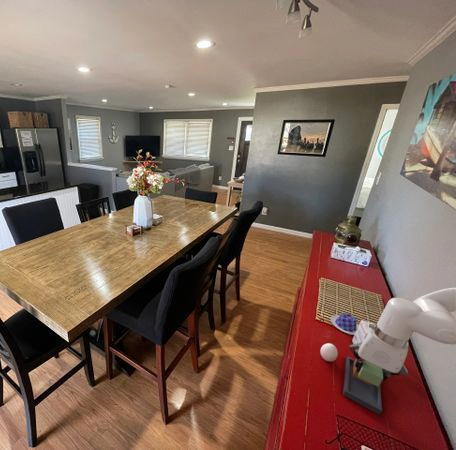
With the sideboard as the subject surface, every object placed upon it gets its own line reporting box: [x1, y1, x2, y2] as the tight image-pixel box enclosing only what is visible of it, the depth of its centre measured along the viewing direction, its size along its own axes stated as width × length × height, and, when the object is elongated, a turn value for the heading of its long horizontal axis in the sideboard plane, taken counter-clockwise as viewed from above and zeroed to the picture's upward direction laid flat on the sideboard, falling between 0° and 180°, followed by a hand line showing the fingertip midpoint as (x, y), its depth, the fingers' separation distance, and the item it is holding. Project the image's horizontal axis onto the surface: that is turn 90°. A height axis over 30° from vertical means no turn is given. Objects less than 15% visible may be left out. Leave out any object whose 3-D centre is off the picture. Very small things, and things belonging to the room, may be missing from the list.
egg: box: [319, 342, 339, 362], centre depth 94 cm, size 5×5×8 cm
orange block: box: [353, 358, 371, 385], centre depth 88 cm, size 5×6×4 cm
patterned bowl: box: [330, 312, 359, 336], centre depth 111 cm, size 12×12×5 cm
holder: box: [342, 356, 383, 415], centre depth 86 cm, size 10×18×2 cm, turn 141°
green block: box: [358, 360, 383, 387], centre depth 81 cm, size 5×6×4 cm
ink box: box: [351, 319, 376, 351], centre depth 98 cm, size 9×5×12 cm, turn 157°
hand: (368, 374), depth 81 cm, fingers closed on green block, 5 cm apart
